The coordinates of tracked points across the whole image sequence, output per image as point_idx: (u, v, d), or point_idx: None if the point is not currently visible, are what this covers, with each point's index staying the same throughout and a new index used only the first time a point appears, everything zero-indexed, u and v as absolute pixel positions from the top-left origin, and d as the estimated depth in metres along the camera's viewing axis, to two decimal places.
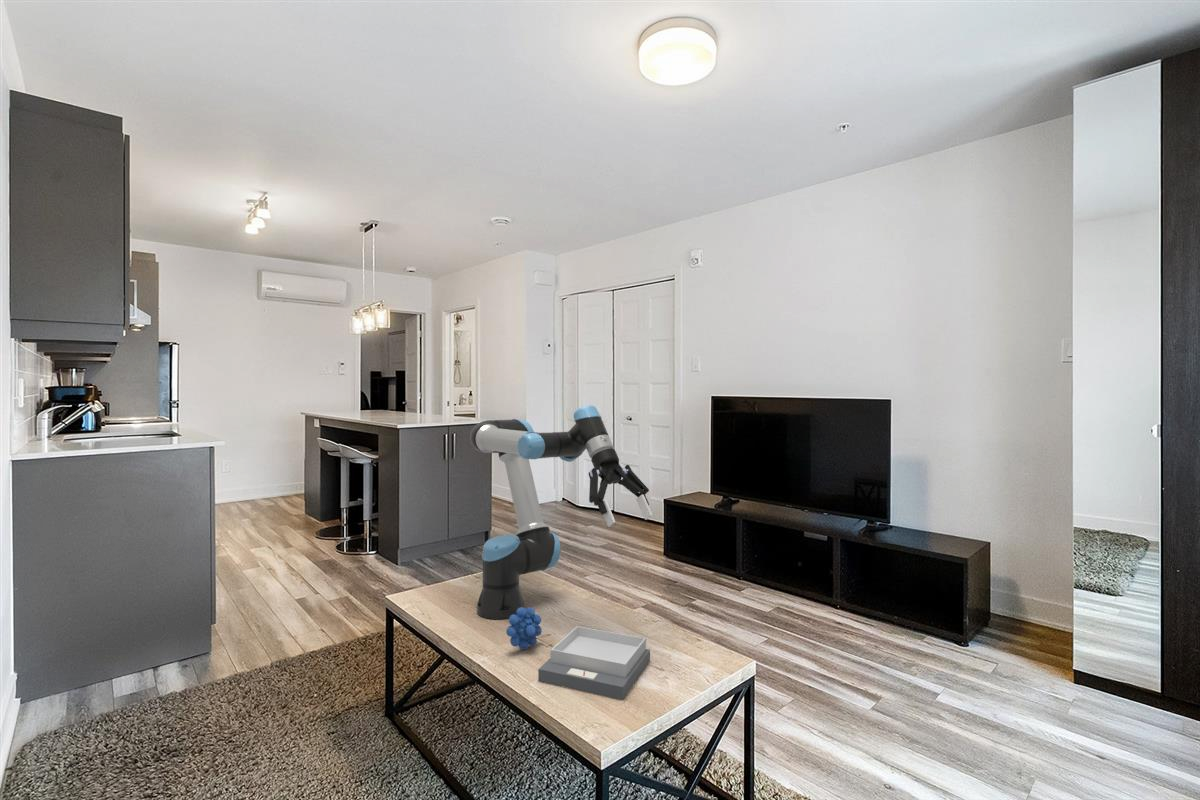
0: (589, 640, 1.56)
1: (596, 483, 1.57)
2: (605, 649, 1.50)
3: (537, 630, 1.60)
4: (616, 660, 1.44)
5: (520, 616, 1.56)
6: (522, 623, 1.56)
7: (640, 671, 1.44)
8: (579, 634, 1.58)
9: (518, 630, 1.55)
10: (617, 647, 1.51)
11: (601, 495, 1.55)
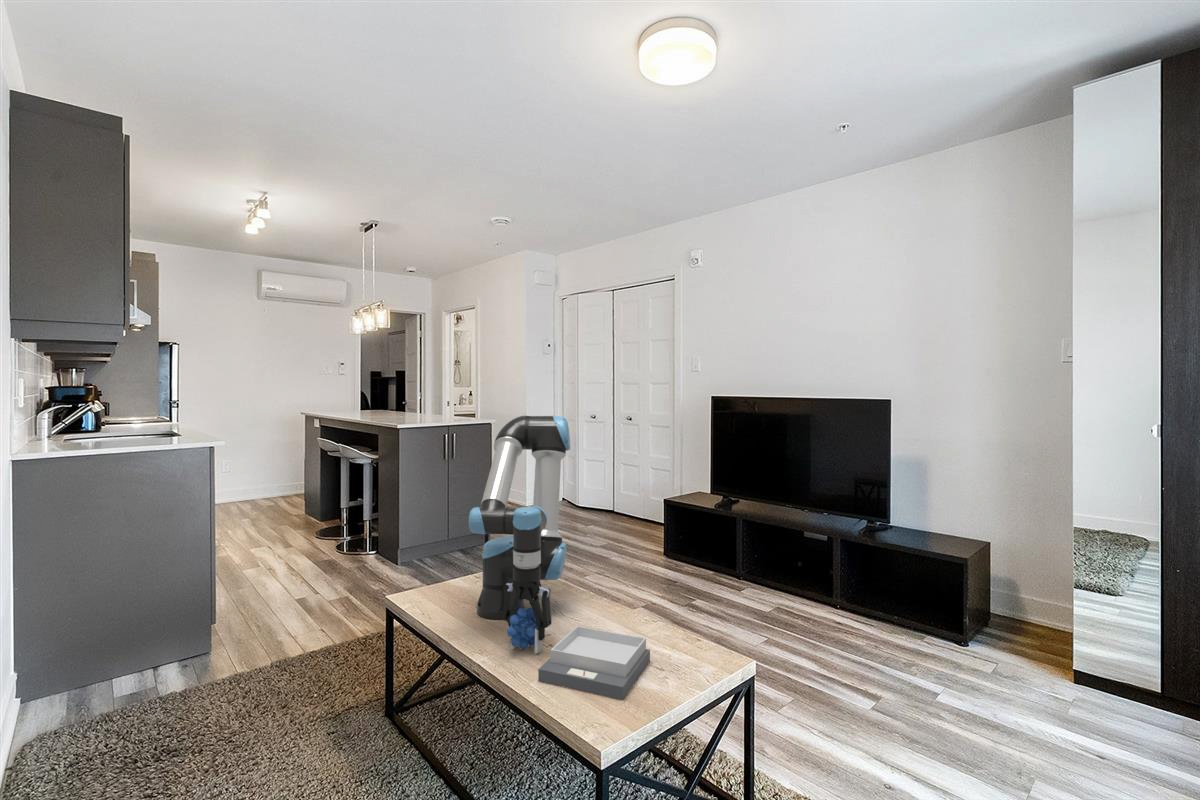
0: (589, 640, 1.56)
1: (505, 603, 1.58)
2: (605, 649, 1.50)
3: None
4: (616, 660, 1.44)
5: (521, 616, 1.56)
6: (523, 623, 1.55)
7: (640, 671, 1.44)
8: (579, 634, 1.58)
9: (519, 630, 1.55)
10: (617, 647, 1.51)
11: (509, 618, 1.58)
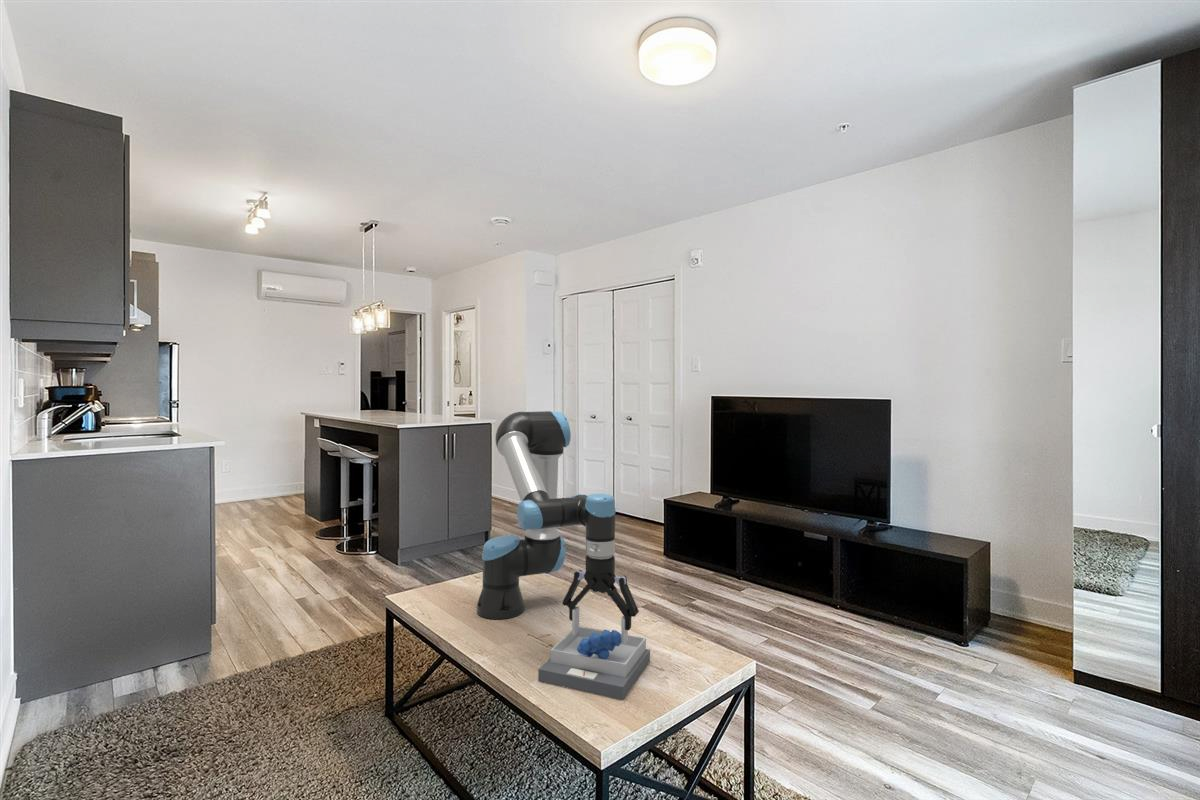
0: None
1: (571, 589, 1.49)
2: None
3: (615, 644, 1.44)
4: (616, 660, 1.44)
5: None
6: (594, 648, 1.40)
7: (640, 671, 1.44)
8: (579, 634, 1.58)
9: (590, 650, 1.41)
10: (617, 647, 1.51)
11: (571, 603, 1.50)
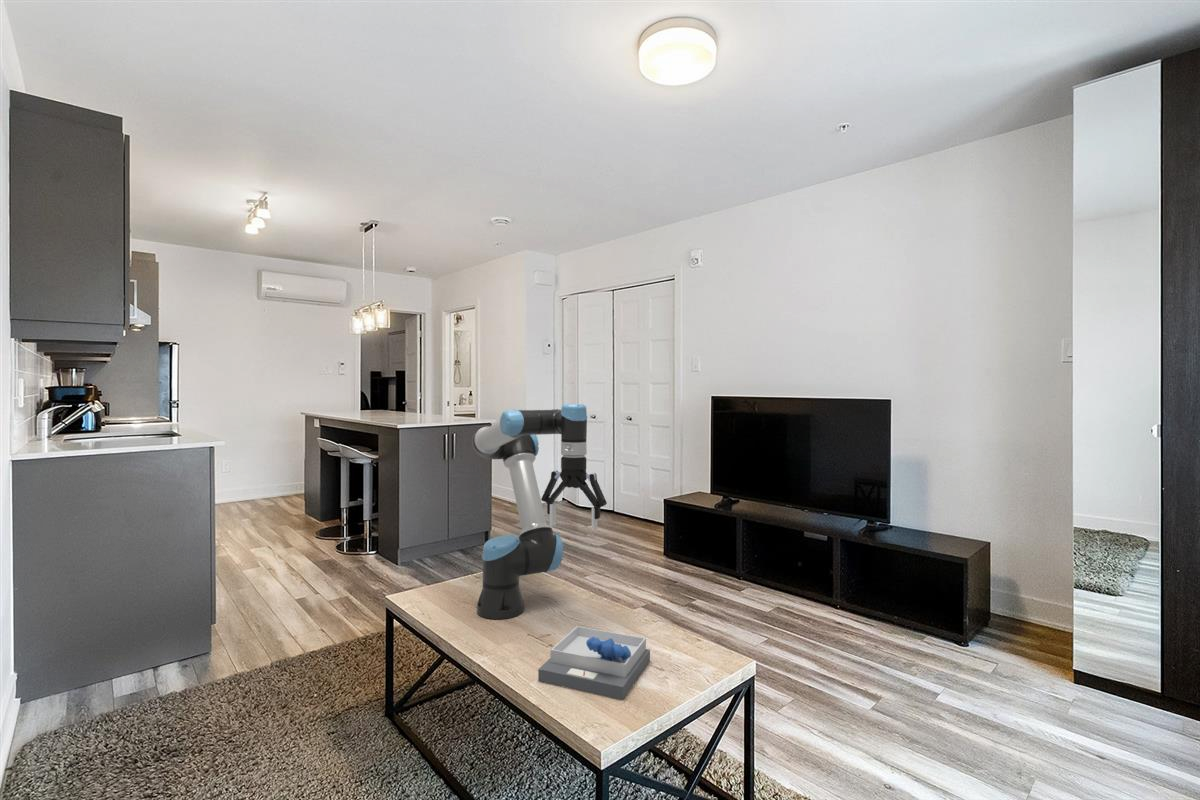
0: None
1: (549, 487, 1.72)
2: None
3: None
4: (616, 660, 1.44)
5: None
6: (601, 652, 1.40)
7: (640, 671, 1.44)
8: (579, 634, 1.58)
9: None
10: None
11: (549, 499, 1.72)
